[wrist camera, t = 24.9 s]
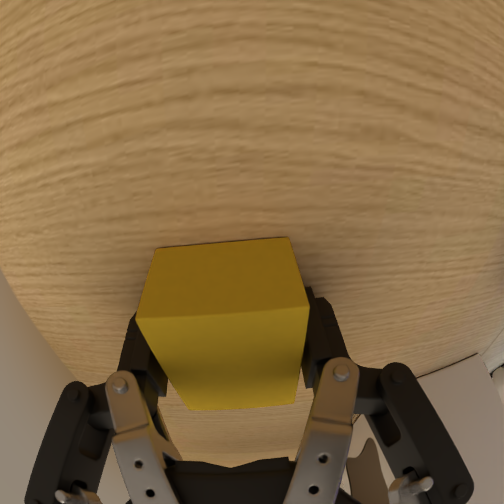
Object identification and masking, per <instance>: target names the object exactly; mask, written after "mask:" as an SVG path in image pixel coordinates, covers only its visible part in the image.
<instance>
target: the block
mask: <svg viewBox="0 0 504 504" xmlns="http://www.w3.org/2000/svg"><path fill="white" fill-rule="evenodd" d="M309 310H310V305H309V302H308V298H307V295H306V292H305V288H304V285H303V281H302V278H301V275H300V272H299V268H298V265H297V262H296V258H295V255H294V252H293V249H292V246H291V242H290V239H289V238H288V237H282V238H270V239H258V240H246V241H235V242H223V243H212V244H201V245H190V246H179V247H169V248H158V249H156V250H155V253H154V256H153V259H152V263H151V266H150V269H149V272H148V275H147V279H146V282H145V285H144V289H143V292H142V296H141V299H140V303H139V306H138V310H137V314H136V317H135V320H136V322H137V324H138V326H139V328H140V330H141V332H142V334H143V336H144V337H145V339H146V341H147V343H148V345H149V347H150V348H151V350H152V352H153V354H154V355H155V357H156V359H157V360H158V362H159V364H160V366H161V367H162V369H163V371H164V372H165V374H166V375H167V377H168V379H169V380H170V382H171V383H172V385H173V387H174V388H175V390H176V391H177V393H178V394H179V396H180V397H181V399H182V400H183V402H184V403H185V405H186V406H187V408H188V409H189V410H226V409H244V408H257V407H268V406H277V405H285V404H293V403H294V401H295V396H296V391H297V385H298V380H299V374H300V368H301V363H302V357H303V350H304V344H305V338H306V331H307V324H308V317H309Z"/></svg>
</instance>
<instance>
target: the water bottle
mask: <svg viewBox="0 0 504 504" xmlns="http://www.w3.org/2000/svg"><path fill="white" fill-rule="evenodd" d="M492 377H493V379H492V380H493V383H494V385H495V387H496V389H497V391H498V394H499V396H500V398H501V401H502V403H503V405H504V366H503V368H502V367H500V368H497V369H496V370H495V371H494V372H493V374H492Z"/></svg>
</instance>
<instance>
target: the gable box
mask: <svg viewBox="0 0 504 504" xmlns="http://www.w3.org/2000/svg"><path fill="white" fill-rule="evenodd" d="M417 381H418V382H419V384H420V386H421V387H422V389H423V390H424V392H425V394H426V395H427V397H428V399H429V400H430V402H431V404H432V405H433V407H434V409H435V410H436V412H437V414H438V416H439V417H440V419H441V421H442V422H443V424H444V426H445V428H446V429H447V431H448V433H449V435H450V437H451V438H452V440H453V442H454V444H455V446H456V448H457V450H458V451H459V453H460V455H461V457H462V459H463V461H464V463H465V465H466V467H467V469H468V471H469V473H470V475H471V477H472V479H473V482H474V491H473V494H472V496H471V498H470V500H469V501H468V502H467V503H466V504H504V405H503V403H502V401H501V398H500V396H499V394H498V391H497V389H496V387H495V385H494V383H493V380H492V378H491V376H490V374H489V372H488V370H487V368H486V366H485V364H484V362H483V360H482V358H481V356H480V354H476V355H474V356H471V357H469V358H467V359H465V360H463V361H460V362H458V363H456V364H453V365H451V366H448V367H446V368H443V369H441V370H438V371H436V372H433V373H430V374H428V375H425V376H422V377H419V378H417ZM342 480H343V485H344V491H345V492H347V493H348V494H349V495H351V496H352V497H354V498H355V499H356V500H358V501H359V502H361V503H362V504H389V498H388V490H389V487H390V485H391V483H392V482H393V481H394V480H395V477H394V475H393V473H392V471H391V469H390V467H389V465H388V463H387V461H386V459H385V457H384V455H383V452H382V450H381V448H380V446H379V444H378V442H377V440H376V438H375V436H374V434H373V432H372V430H371V428H370V426H369V424H368V422H367V420H366V418H365V416H364V414H361V415H360V416H359V418H358V419H357V420H356V422H355V423H354V425H353V434H352V439H351V444H350V448H349V453H348V457H347V461H346V465H345V469H344V473H343V476H342Z"/></svg>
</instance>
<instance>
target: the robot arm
mask: <svg viewBox="0 0 504 504" xmlns="http://www.w3.org/2000/svg"><path fill="white" fill-rule="evenodd" d="M304 288H305V292H306V295H307V298H308V302H309V305H310V310H309V317H308V324H307V331H306V338H305V344H304V350H303V357H302V363H301V367H302V372H303V377H304V382H305V387H306V389H307V388H313V392H314V399H313V402H312V406H311V410H310V413H309V417H308V420H307V424H306V427H305V431H304V434H303V437H302V440H301V443H300V446H299V449H298V452H297V455H296V458H295V461H289V459H288V457H281V458H272V459H262V460H257V461H254V462H251V463H247V464H244V465H240V466H237V467H233V468H228V467H223V466H219V465H214V464H210V463H206V462H200V461H183V459H182V457H181V455H180V454H179V452H178V450H177V449H176V447H175V446H174V444H173V442H172V440H171V437H170V435H169V433H168V430H167V427H166V425H165V422H164V420H163V417H162V414H161V412H160V409H159V406H158V405H157V404H158V396H161V397H166V393H167V383H168V377H167V375H166V374H165V372H164V371H163V369H162V367H161V366H160V364H159V362H158V360H157V359H156V357H155V355H154V354H153V352H152V350H151V348H150V347H149V345H148V343H147V341H146V339H145V337H144V336H143V334H142V332H141V330H140V328H139V326H138V324H137V322H136V320H135V317H136V314H137V311H136V313H135V314H134V315H133V317H132V318H131V319H130V322H129V325H128V329H127V333H126V337H125V340H124V344H123V348H122V353H121V357H120V361H119V365H118V369H117V372H115V373H113V374H112V375H110V376H109V378H108V379H107V381H106V382H105V383H102V384H99V385H94V386H90V387H87V386H86V385H85V384H83V383H82V382H79V381H74V382H71V383H69V384H68V385H67V386H66V387H65V388H64V390H63V392H62V394H61V396H60V398H59V401H58V403H57V405H56V408H55V410H54V413H53V415H52V418H51V420H50V422H49V425H48V427H47V430H46V433H45V436H44V438H43V441H42V444H41V447H40V449H39V452H38V455H37V458H36V461H35V464H34V467H33V470H32V474H31V477H30V480H29V484H28V488H27V491H26V495H25V500H24V501H25V504H102V503H101V501H100V499H99V497H98V496H97V494H96V493H97V490H98V486H99V483H100V479H101V475H102V472H103V468H104V465H105V462H106V458H107V455H108V452H109V449H110V446H111V443H112V445H113V449H114V452H115V455H116V458H117V462H118V465H119V468H120V471H121V474H122V477H123V479H124V483H125V485H126V488H127V490H128V493H129V496H130V498H131V499H130V500H129V501H128V502H127V503H126V504H362V503H361V502H359V501H358V500H356V499H355V498H354V497H352V496H351V495H349V494H348V493H347V492H345V491H344V490H343V489H341V488H340V483H341V480H342V476H343V473H344V469H345V465H346V461H347V457H348V453H349V448H350V444H351V439H352V434H353V425H352V418H353V414H364V416H365V418H366V420H367V422H368V424H369V426H370V428H371V430H372V432H373V434H374V436H375V438H376V440H377V442H378V444H379V446H380V448H381V450H382V452H383V455H384V457H385V459H386V461H387V463H388V465H389V467H390V469H391V471H392V473H393V475H394V477H395V480H394V481H393V482H392V483H391V485H390V487H389V490H388V498H389V504H466V503H467V502H468V501H469V500H470V498H471V496H472V494H473V491H474V482H473V479H472V477H471V475H470V473H469V471H468V469H467V467H466V465H465V463H464V461H463V459H462V457H461V455H460V453H459V451H458V450H457V448H456V446H455V444H454V442H453V440H452V438H451V437H450V435H449V433H448V431H447V429H446V428H445V426H444V424H443V422H442V421H441V419H440V417H439V416H438V414H437V412H436V410H435V409H434V407H433V405H432V404H431V402H430V400H429V399H428V397H427V395H426V394H425V392H424V390H423V389H422V387H421V386H420V384H419V382H418V381H417V379H416V378H415V376H414V374H413V373H412V371H411V370H410V369H409V367H407V366H406V365H404V364H402V363H398V362H393V363H390V364H388V365H386V366H385V367H384V368H383V369H376V368H366V367H362V366H359V365H357V364H356V363H355V362H353V361H352V360H351V358H350V357H349V355H348V352H347V349H346V346H345V343H344V340H343V337H342V334H341V331H340V328H339V326H338V323H337V320H336V317H335V314H334V311H333V308H332V306H331V304H330V303H329V302H328V301H327V300H326V299H325V298H324V297H321V298H315V297H314V294H313V291H312V288H311V287H304ZM114 433H115V434H114Z"/></svg>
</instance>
